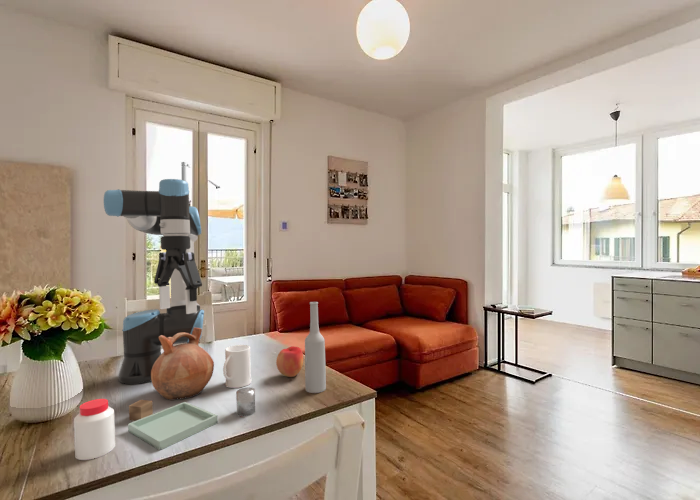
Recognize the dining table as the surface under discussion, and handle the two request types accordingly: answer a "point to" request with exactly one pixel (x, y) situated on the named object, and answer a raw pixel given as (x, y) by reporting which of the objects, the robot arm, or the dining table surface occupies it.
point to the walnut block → (140, 409)
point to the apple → (290, 361)
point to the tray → (172, 425)
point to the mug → (237, 366)
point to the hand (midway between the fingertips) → (177, 310)
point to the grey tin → (245, 401)
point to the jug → (182, 367)
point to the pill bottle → (94, 430)
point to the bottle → (315, 355)
